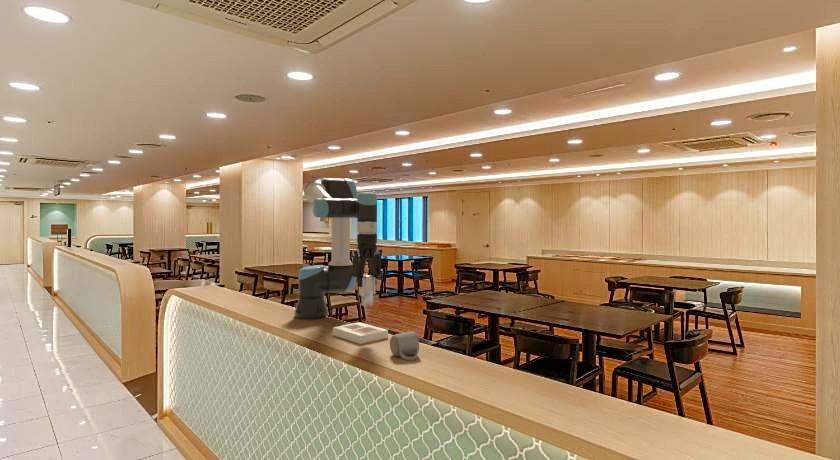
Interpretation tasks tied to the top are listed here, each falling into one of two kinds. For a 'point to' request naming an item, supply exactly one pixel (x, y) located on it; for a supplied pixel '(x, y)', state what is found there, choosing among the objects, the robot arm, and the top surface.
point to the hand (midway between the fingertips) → (367, 294)
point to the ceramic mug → (405, 345)
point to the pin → (368, 291)
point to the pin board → (360, 332)
